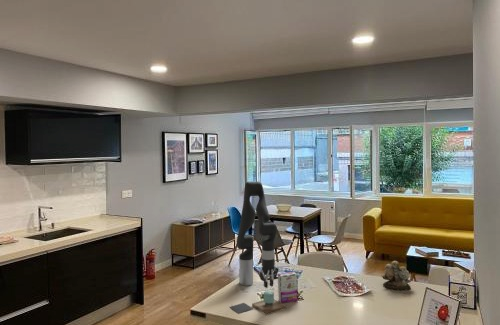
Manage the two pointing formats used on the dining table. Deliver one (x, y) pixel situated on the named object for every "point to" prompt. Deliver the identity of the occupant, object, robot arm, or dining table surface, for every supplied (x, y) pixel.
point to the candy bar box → (287, 287)
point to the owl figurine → (396, 277)
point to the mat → (241, 308)
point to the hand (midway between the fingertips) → (268, 286)
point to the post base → (268, 306)
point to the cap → (268, 296)
